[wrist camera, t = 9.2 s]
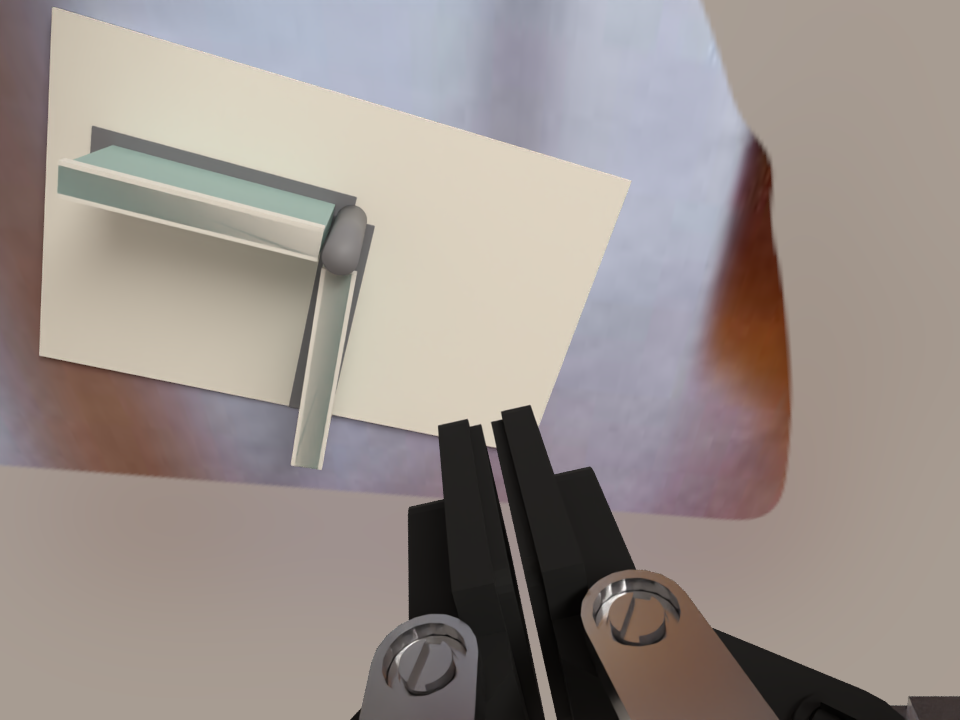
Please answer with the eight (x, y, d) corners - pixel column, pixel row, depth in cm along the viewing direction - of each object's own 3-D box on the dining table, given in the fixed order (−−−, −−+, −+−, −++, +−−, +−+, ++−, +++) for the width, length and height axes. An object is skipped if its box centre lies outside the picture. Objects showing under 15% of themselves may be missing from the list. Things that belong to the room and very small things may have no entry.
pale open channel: (363, 242, 36) (356, 275, 31) (331, 417, 41) (321, 469, 36) (333, 236, 36) (321, 268, 31) (304, 413, 40) (290, 465, 36)
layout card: (56, 7, 31) (51, 7, 31) (629, 179, 37) (632, 181, 37) (42, 352, 38) (38, 356, 38) (527, 450, 44) (528, 454, 44)
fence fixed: (114, 140, 33) (46, 164, 27) (370, 209, 36) (362, 245, 30) (111, 172, 34) (44, 203, 28) (363, 237, 37) (354, 279, 30)
